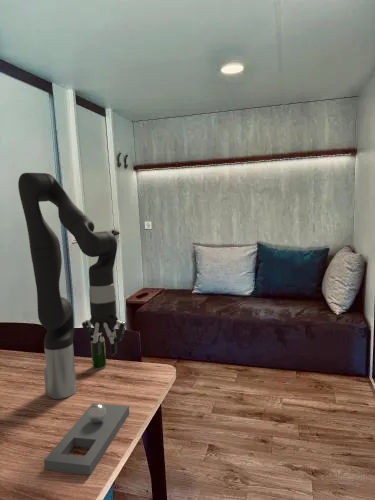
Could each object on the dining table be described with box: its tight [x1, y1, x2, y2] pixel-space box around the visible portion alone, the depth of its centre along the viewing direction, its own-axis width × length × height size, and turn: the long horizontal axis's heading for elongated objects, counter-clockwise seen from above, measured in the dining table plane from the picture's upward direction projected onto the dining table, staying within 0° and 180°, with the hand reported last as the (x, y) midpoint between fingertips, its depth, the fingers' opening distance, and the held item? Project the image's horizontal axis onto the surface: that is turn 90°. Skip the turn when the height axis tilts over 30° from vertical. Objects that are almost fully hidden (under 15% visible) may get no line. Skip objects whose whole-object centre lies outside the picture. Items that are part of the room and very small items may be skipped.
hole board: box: [43, 402, 130, 476], centre depth 98 cm, size 12×26×2 cm, turn 169°
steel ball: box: [88, 403, 106, 423], centre depth 102 cm, size 5×5×5 cm
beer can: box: [90, 335, 107, 371], centre depth 143 cm, size 5×5×12 cm
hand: (106, 354), depth 108 cm, fingers open, 4 cm apart
